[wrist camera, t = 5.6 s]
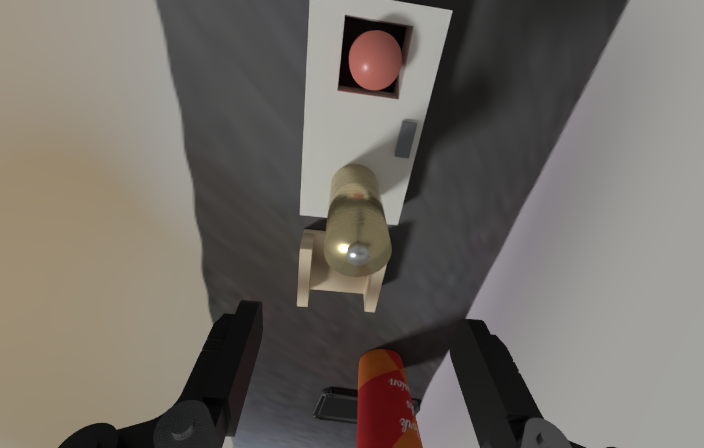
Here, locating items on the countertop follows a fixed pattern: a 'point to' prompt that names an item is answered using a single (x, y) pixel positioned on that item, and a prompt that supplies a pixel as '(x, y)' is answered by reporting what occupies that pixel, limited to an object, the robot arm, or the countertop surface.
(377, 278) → the beige channel block
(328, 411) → the phone
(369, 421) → the paper cup
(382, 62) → the button
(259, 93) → the countertop surface
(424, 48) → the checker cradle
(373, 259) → the cell
